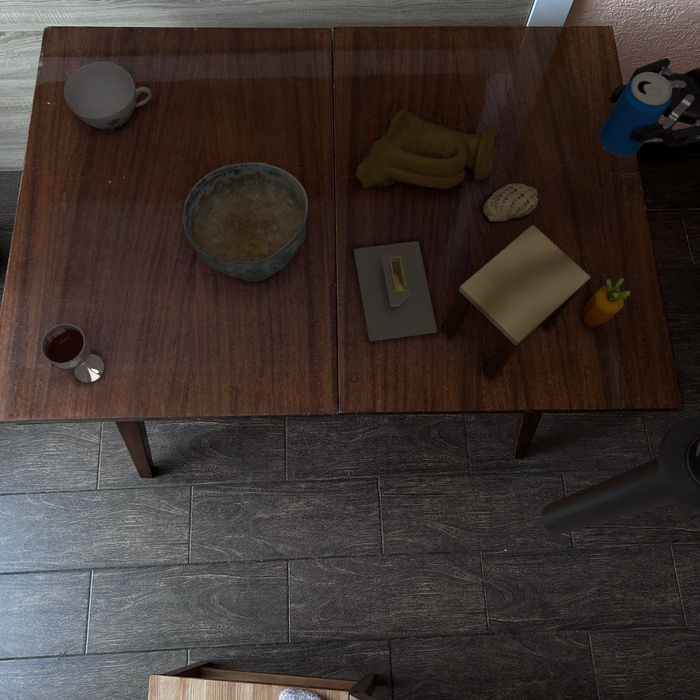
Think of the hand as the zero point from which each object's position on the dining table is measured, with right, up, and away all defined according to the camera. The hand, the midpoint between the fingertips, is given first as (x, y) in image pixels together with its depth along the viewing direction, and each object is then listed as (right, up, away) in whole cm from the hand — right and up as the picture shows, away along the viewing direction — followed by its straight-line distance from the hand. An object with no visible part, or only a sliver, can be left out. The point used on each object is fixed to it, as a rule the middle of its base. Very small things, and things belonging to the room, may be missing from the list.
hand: (623, 116), depth 101 cm
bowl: (-57, -17, +24) cm, 64 cm away
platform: (-32, -24, +22) cm, 45 cm away
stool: (-14, -30, +20) cm, 38 cm away
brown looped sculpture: (-26, -1, +30) cm, 40 cm away
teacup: (-85, +11, +33) cm, 91 cm away
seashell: (-11, -8, +28) cm, 31 cm away
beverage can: (+2, -2, +7) cm, 8 cm away
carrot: (+2, -30, +21) cm, 36 cm away
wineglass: (-84, -37, +16) cm, 93 cm away
